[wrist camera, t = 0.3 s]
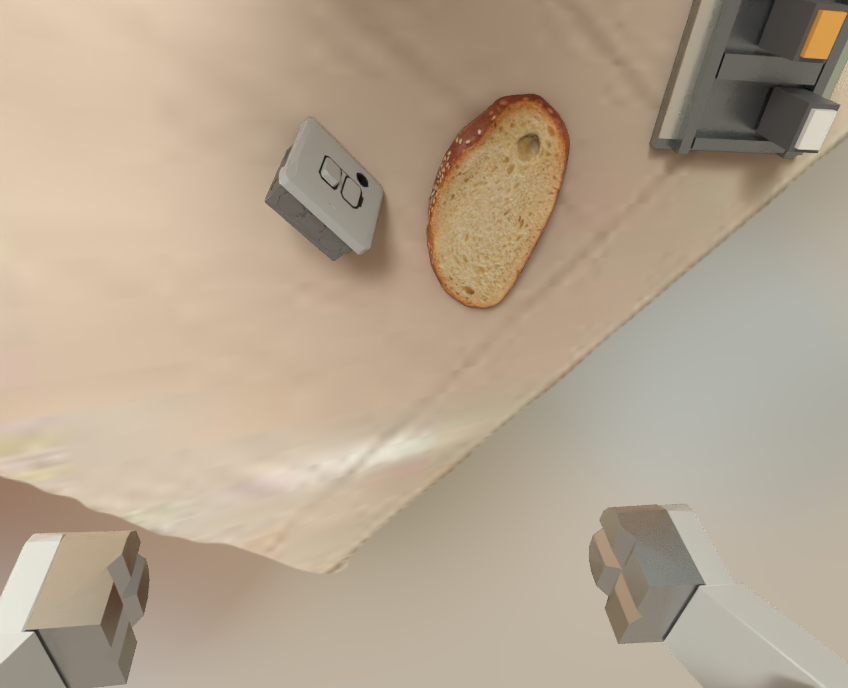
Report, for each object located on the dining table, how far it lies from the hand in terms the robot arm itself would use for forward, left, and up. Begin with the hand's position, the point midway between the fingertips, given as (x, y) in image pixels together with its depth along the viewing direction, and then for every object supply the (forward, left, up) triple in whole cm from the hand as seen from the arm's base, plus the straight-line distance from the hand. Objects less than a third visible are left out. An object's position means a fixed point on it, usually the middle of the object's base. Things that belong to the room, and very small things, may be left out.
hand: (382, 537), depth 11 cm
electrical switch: (+12, -1, -48) cm, 49 cm away
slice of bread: (+15, +15, -48) cm, 52 cm away
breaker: (+4, +39, -46) cm, 60 cm away
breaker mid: (-3, +36, -46) cm, 58 cm away
